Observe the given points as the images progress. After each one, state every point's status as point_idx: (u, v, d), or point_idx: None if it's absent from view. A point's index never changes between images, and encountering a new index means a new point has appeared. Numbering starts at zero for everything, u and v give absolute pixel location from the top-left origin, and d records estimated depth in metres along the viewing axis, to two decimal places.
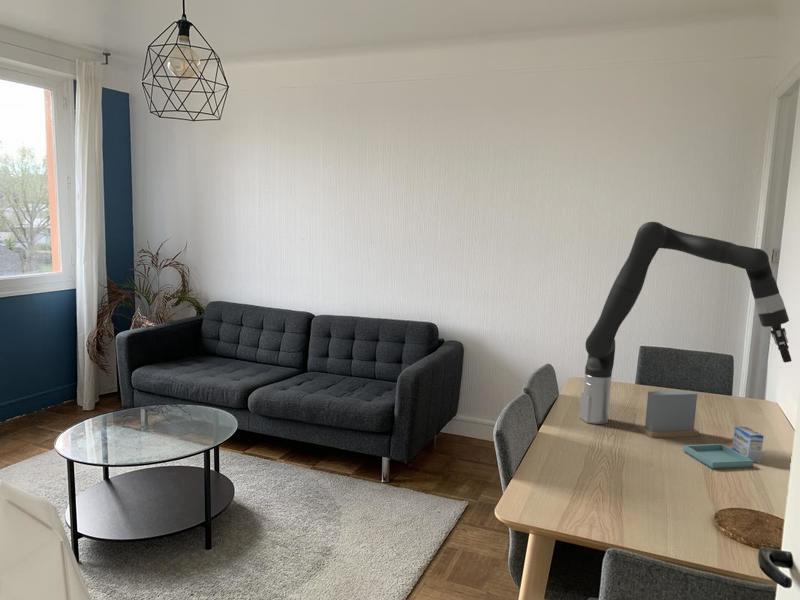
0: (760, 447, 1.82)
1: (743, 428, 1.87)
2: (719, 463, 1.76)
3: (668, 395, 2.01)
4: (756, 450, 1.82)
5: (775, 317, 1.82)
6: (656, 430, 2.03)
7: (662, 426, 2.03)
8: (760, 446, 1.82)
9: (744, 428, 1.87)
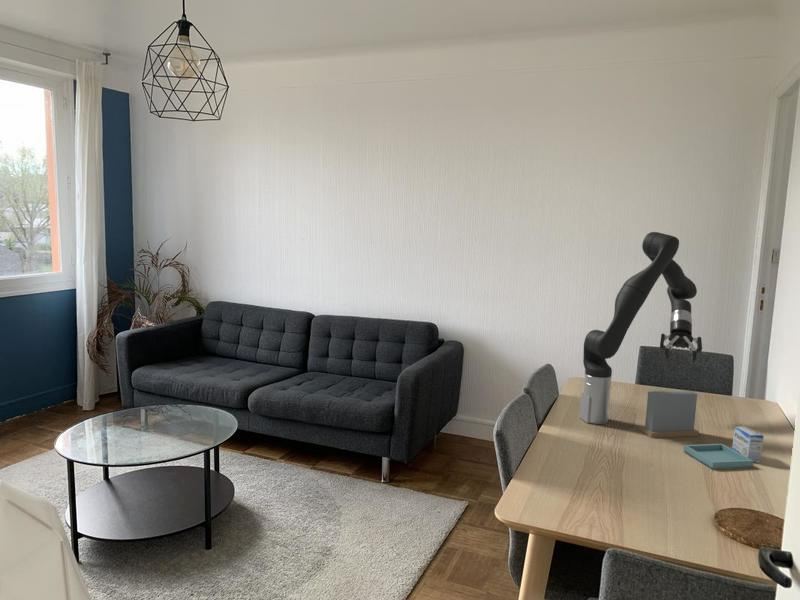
0: (760, 447, 1.82)
1: (743, 428, 1.87)
2: (719, 463, 1.76)
3: (668, 395, 2.01)
4: (756, 450, 1.82)
5: None
6: (656, 430, 2.03)
7: (662, 426, 2.03)
8: (760, 446, 1.82)
9: (744, 428, 1.87)
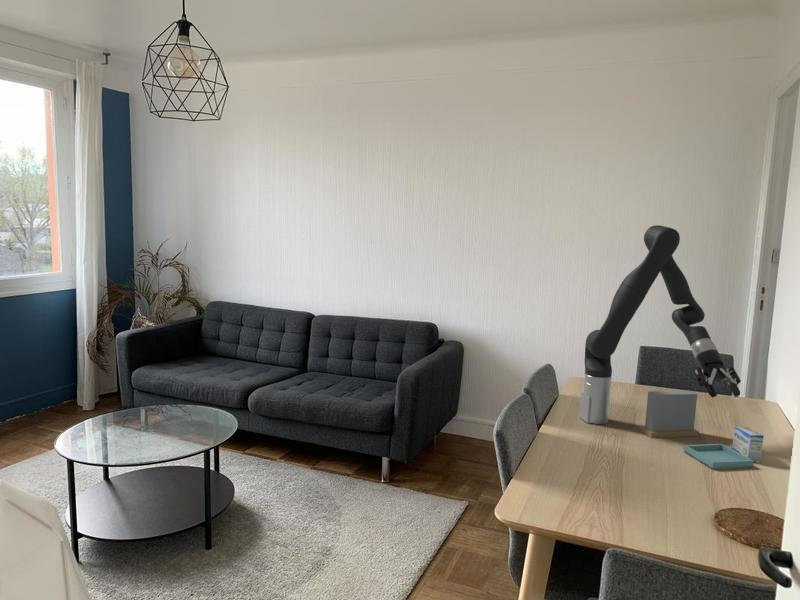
0: (760, 447, 1.82)
1: (743, 428, 1.87)
2: (719, 463, 1.76)
3: (668, 395, 2.01)
4: (756, 450, 1.82)
5: None
6: (656, 430, 2.03)
7: (662, 426, 2.03)
8: (760, 446, 1.82)
9: (744, 428, 1.87)
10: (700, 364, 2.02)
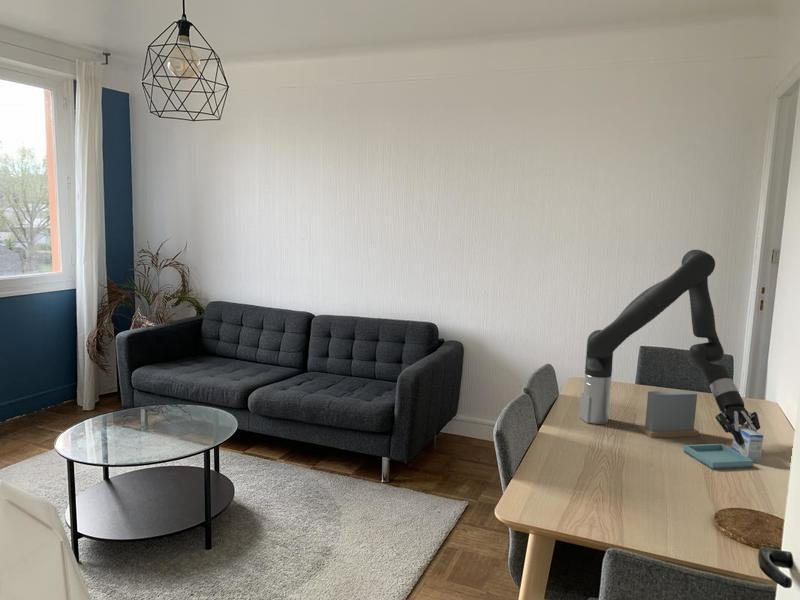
0: (760, 447, 1.82)
1: (743, 428, 1.87)
2: (719, 463, 1.76)
3: (668, 395, 2.01)
4: (756, 450, 1.82)
5: None
6: (656, 430, 2.03)
7: (662, 426, 2.03)
8: (760, 446, 1.82)
9: (744, 428, 1.87)
10: (720, 406, 1.92)
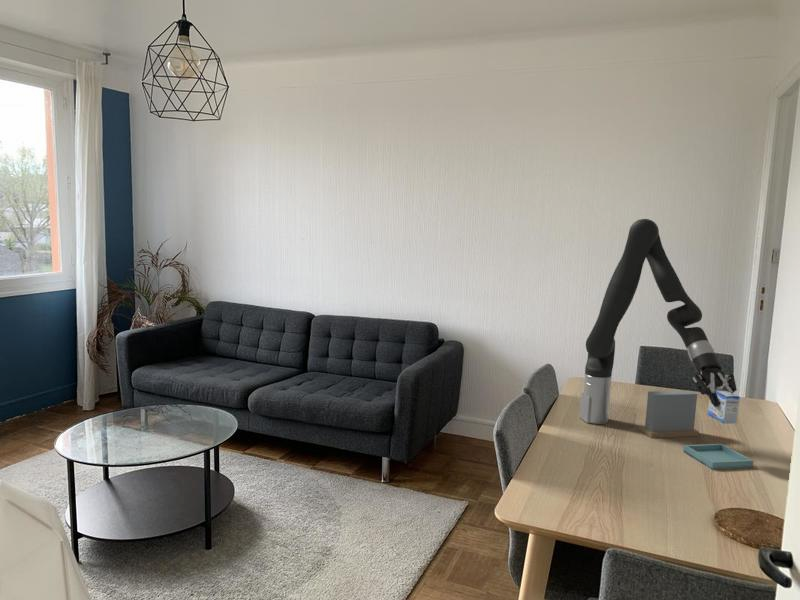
0: (736, 408, 1.78)
1: (719, 390, 1.83)
2: (719, 463, 1.76)
3: (668, 395, 2.01)
4: (732, 412, 1.78)
5: None
6: (656, 430, 2.03)
7: (662, 426, 2.03)
8: (736, 407, 1.78)
9: (720, 390, 1.83)
10: (696, 368, 1.88)
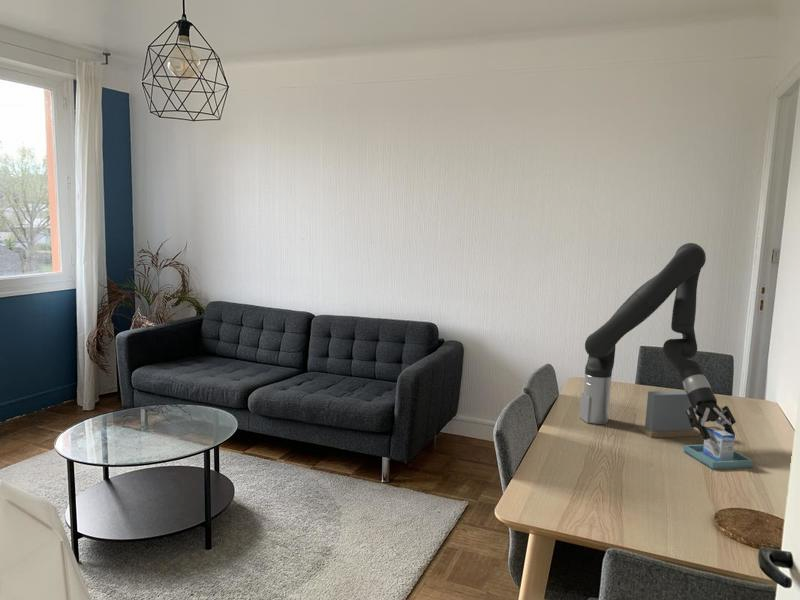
0: (732, 447, 1.79)
1: (714, 428, 1.84)
2: (719, 463, 1.76)
3: (668, 395, 2.01)
4: (728, 451, 1.79)
5: None
6: (656, 430, 2.03)
7: (662, 426, 2.03)
8: (732, 446, 1.79)
9: (715, 428, 1.84)
10: (692, 402, 1.89)
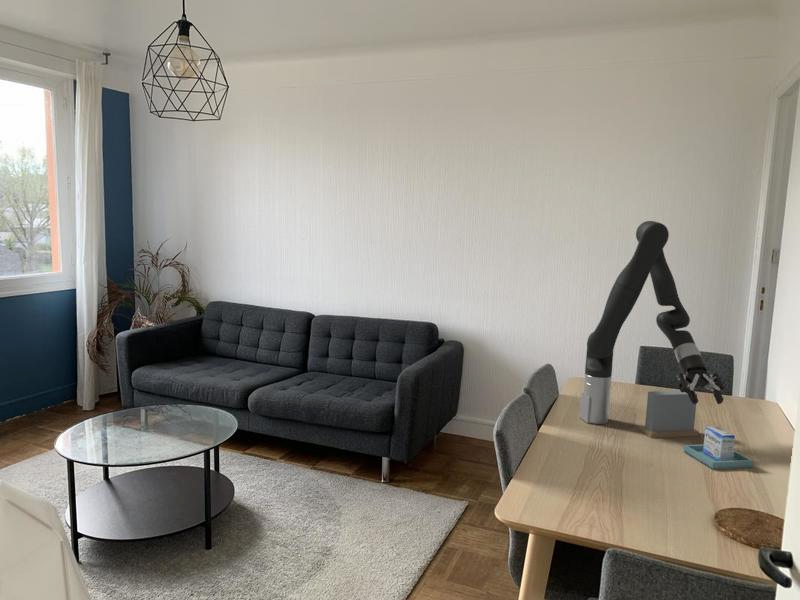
0: (732, 447, 1.79)
1: (714, 428, 1.84)
2: (719, 463, 1.76)
3: (668, 395, 2.01)
4: (728, 451, 1.79)
5: None
6: (656, 430, 2.03)
7: (662, 426, 2.03)
8: (732, 446, 1.79)
9: (715, 428, 1.84)
10: (683, 369, 1.96)
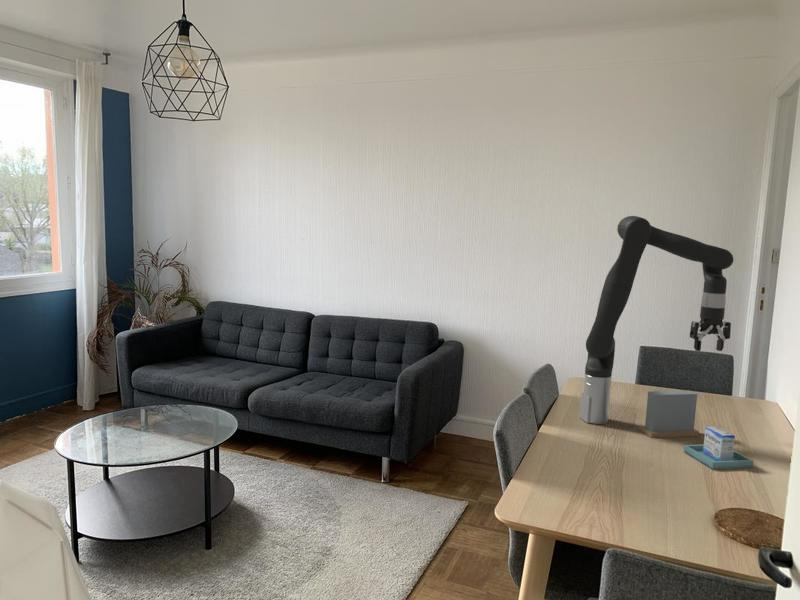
0: (732, 447, 1.79)
1: (714, 428, 1.84)
2: (719, 463, 1.76)
3: (668, 395, 2.01)
4: (728, 451, 1.79)
5: None
6: (656, 430, 2.03)
7: (662, 426, 2.03)
8: (732, 446, 1.79)
9: (715, 428, 1.84)
10: (701, 315, 2.08)
